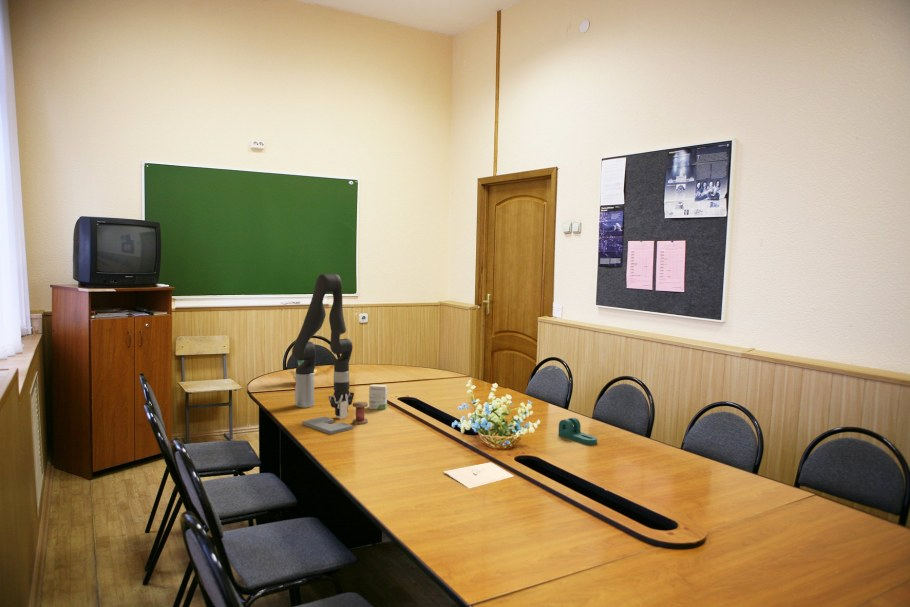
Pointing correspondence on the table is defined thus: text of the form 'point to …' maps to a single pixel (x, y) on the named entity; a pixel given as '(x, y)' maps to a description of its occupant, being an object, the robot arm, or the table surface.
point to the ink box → (378, 397)
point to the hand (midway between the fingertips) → (341, 414)
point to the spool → (360, 413)
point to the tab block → (343, 409)
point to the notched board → (327, 425)
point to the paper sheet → (478, 474)
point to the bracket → (575, 432)
